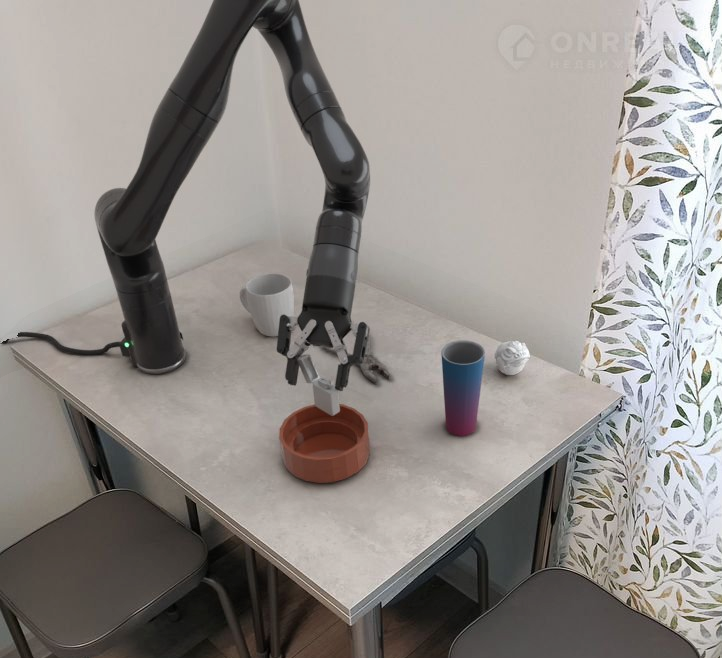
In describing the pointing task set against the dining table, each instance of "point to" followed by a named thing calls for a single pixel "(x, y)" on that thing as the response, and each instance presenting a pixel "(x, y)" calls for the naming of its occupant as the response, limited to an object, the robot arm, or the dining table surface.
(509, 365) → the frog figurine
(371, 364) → the pliers
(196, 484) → the dining table surface
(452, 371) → the cup
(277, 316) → the mug
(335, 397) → the lighter
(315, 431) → the bowl
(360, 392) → the dining table surface
